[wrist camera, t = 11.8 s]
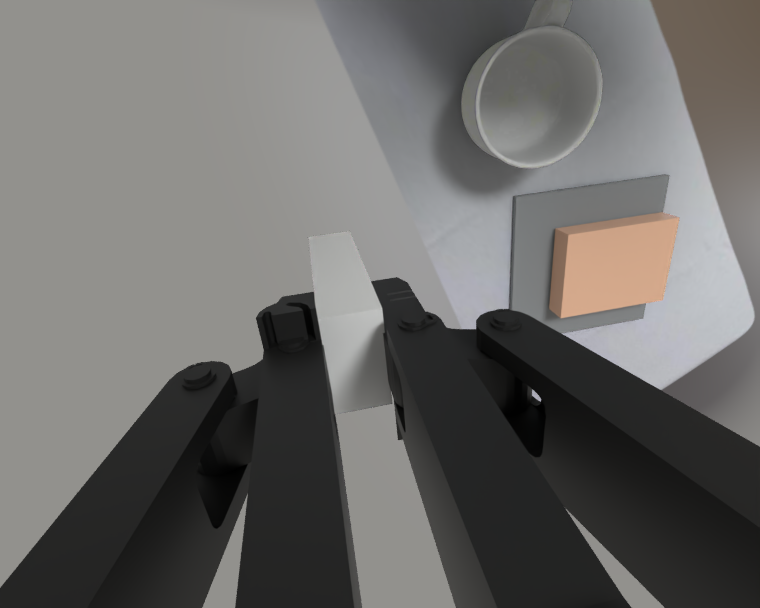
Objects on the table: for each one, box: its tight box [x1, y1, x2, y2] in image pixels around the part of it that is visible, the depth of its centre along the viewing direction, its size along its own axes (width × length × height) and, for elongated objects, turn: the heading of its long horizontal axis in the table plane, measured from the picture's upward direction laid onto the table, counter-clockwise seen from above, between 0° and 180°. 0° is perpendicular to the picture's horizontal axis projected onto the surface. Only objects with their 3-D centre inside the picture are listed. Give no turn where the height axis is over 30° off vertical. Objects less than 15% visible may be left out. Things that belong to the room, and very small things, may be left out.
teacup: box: [461, 0, 603, 169], centre depth 39 cm, size 14×11×8 cm
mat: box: [510, 175, 670, 333], centre depth 52 cm, size 18×18×1 cm
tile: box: [549, 212, 679, 318], centre depth 51 cm, size 10×3×13 cm
